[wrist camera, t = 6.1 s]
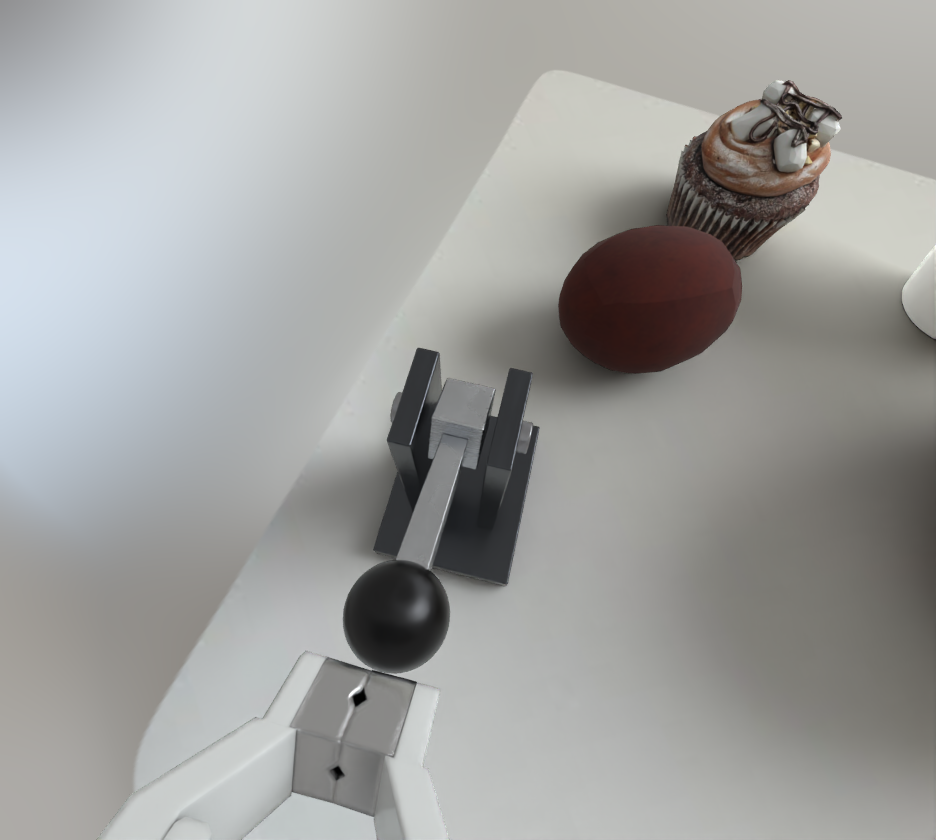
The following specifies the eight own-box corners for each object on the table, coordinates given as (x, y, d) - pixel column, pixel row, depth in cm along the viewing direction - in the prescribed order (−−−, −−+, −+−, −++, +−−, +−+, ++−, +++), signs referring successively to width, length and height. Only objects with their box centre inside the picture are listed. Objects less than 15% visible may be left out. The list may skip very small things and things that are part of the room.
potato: (534, 302, 38) (556, 205, 29) (686, 281, 39) (750, 181, 30) (563, 406, 35) (597, 330, 26) (728, 380, 36) (813, 299, 27)
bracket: (505, 586, 30) (536, 553, 18) (375, 553, 31) (324, 500, 19) (537, 433, 34) (579, 324, 22) (421, 406, 34) (402, 286, 23)
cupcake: (690, 163, 44) (752, 37, 35) (795, 217, 42) (890, 98, 33) (633, 228, 41) (684, 110, 32) (742, 291, 39) (831, 183, 29)
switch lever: (430, 703, 15) (439, 658, 13) (328, 674, 15) (320, 626, 13) (497, 436, 24) (508, 383, 22) (431, 421, 24) (437, 367, 22)
